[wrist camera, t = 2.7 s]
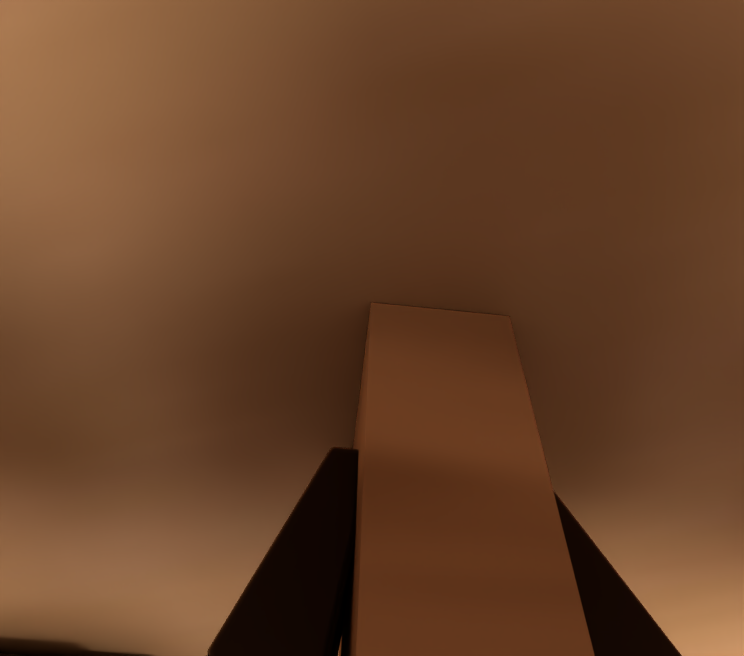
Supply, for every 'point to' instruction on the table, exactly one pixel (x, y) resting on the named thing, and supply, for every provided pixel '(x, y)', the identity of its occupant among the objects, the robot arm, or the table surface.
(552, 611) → the wooden rectangular block
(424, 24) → the table surface
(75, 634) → the table surface
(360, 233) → the table surface
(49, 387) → the table surface
